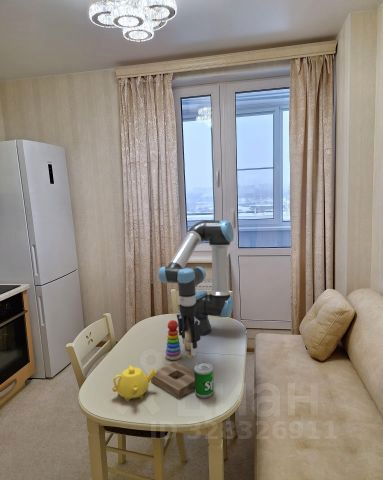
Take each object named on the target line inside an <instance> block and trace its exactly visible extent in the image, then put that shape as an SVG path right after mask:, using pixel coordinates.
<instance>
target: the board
mask: <svg viewBox="0 0 383 480" xmlns="http://www.w3.org/2000/svg"><path fill="white" fill-rule="evenodd" d="M155 371H156V374H155V375H154V376H153V378H152V379H151V380H150V382H151V383H153V384H155V385H156V386H158V387H159V388H161V389H163V390H164V391H166V392H168V393H169V394H171V395H172V396H174V397H176V398H177V399H180V398H182V397H184V396H186V395H187V394H189V393H191V392H193V391H195V376H194V369H193V370H192V369H190V368H188V367H186V366H185V365H183V364H181V363H178V362H176V361H172V363H169V364H167V365H165V366H163V367H161V368H159V369H157V370H155Z"/></svg>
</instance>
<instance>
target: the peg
mask: <svg viewBox="0 0 383 480" xmlns="http://www.w3.org/2000/svg"><path fill="white" fill-rule="evenodd" d="M191 341H192V339H191V334H190V329H189V330H185V346H186V348H185V349H186V351H187V352H186V358H189V359H192V358H194V357H195V355H193V356H192V355H191Z"/></svg>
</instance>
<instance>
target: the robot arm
mask: <svg viewBox="0 0 383 480" xmlns="http://www.w3.org/2000/svg"><path fill="white" fill-rule="evenodd" d="M234 235H235V234H234V229H233V225H232V222H230V221H229V220H221V219H220V220H201V221H198V222H197V223H195V224H193V226H191V227H190V228H189V229H188V230H187V232H186V233H185V235H184V240H183V241H182V242H181V244H180V245H179V247H178V249H177V250H176V252H175V253H174V256H173V257H172V259H171V260H170V262H169V263H168V265H167V266H161V267H160V268H159V270H158V279H159V282H162V283H167V284H177V287H178V303H179V305H178V306H179V313H178V314H176V318H177V323H178V328H177V330H178V336H181V338H182V344H183V352H184V353H187V351H186V349H185V348H186V346H185V330H189V329H190V334H191V339H192V341H191V355H192V356H193V355H194V356H195V355H196V354H197V353H198V352H197V351H198V350H197V348H198V342H199V341H201V336H206V335H208V334H210V333H211V332H212V325H211V323H210V320H209V316H210V317H220V318H228V317H230V316H231V314H232V312H233V308H234V304H235V303H234V302H235V300H234V296H231V292H230V291H229V290H228V248H229V247H230V246H231V243H232V242H233V241H234V237H235V236H234ZM202 242H208V243H209V244H208V245H209V246H210V248H211V285H212V286H211V287H212V288H211V291H209V294H208V291H207V290H196V287H197V286H198V285H199V284H201V283H203V281H204V280H206V276H207V273H206V270H205V269H204V268H203V267H202V266H195V267H193V268H192V267H186V265H187V264H188V262H189V260H190V259H191V256H192V255H193V253H194V252H195V250H196V248H197V246H199V245H200V244H201V243H202Z"/></svg>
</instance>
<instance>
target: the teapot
mask: <svg viewBox="0 0 383 480" xmlns="http://www.w3.org/2000/svg"><path fill="white" fill-rule="evenodd" d="M156 371H157V370H155V369H151V371H150V372H149V374H148V375H146V374H145V372H143V370H142V369H141V368H139V367H135V366H133V365H129V366H128V368H126V369H124V370H123V371H122V372H121V374H116V375H115V376H114V377H113V380H112V381H113V384H114V386H113V387H112V390H111V391H112V392H117V393H118V395H120V396H121V398H124V401H126V402H128V401H130V400H131V399H136V398H139V399H143V398H144V394H145V393H146V392H147V390H148V388H149V383H150V382H151V379H152V378H153V376H154V375H155V374H156ZM116 379H118V380H117V381H116Z"/></svg>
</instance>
